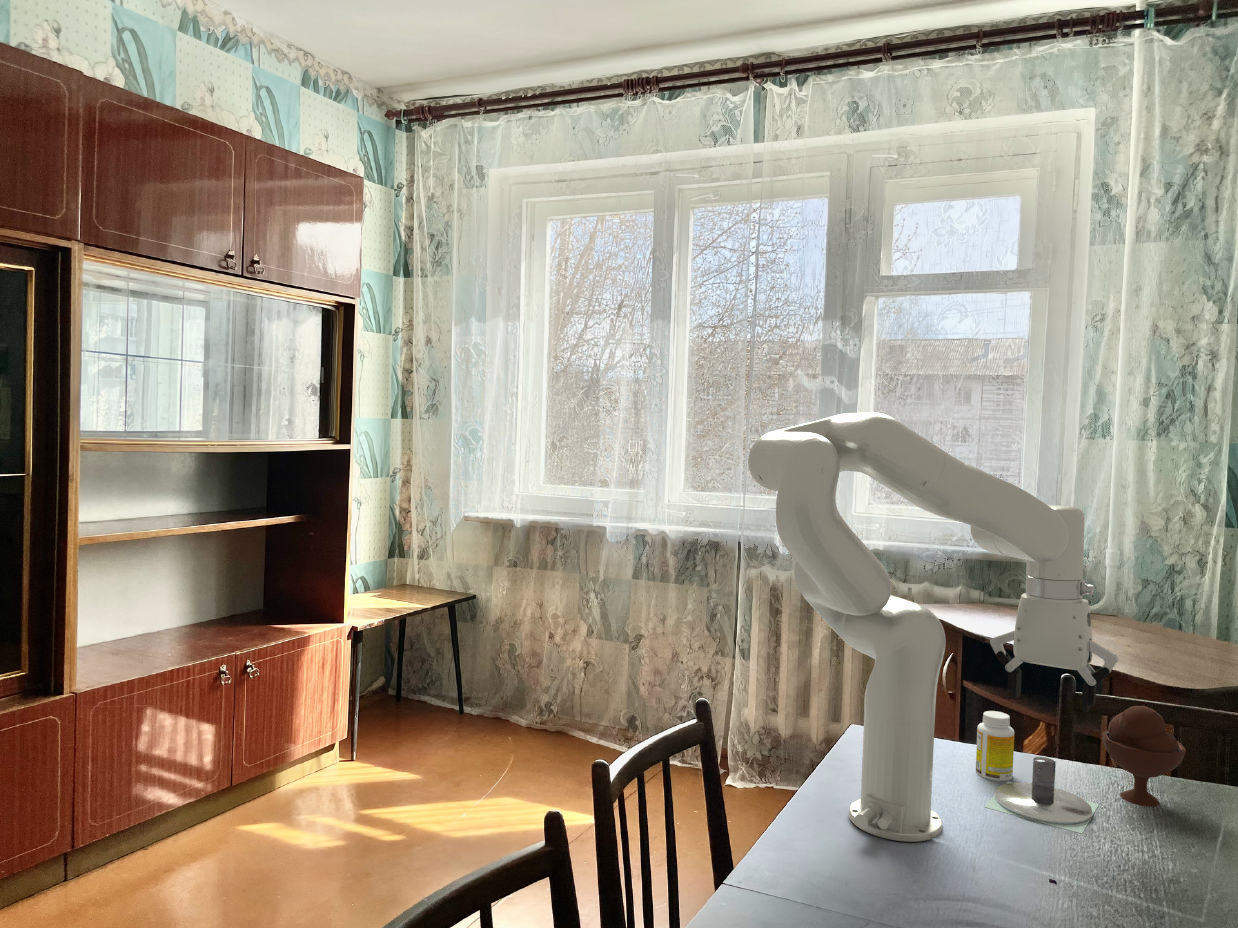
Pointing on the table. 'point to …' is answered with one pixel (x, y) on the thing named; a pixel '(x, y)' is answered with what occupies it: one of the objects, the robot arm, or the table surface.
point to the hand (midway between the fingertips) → (1050, 702)
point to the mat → (1075, 828)
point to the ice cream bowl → (1142, 750)
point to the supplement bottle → (995, 747)
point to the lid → (1043, 798)
